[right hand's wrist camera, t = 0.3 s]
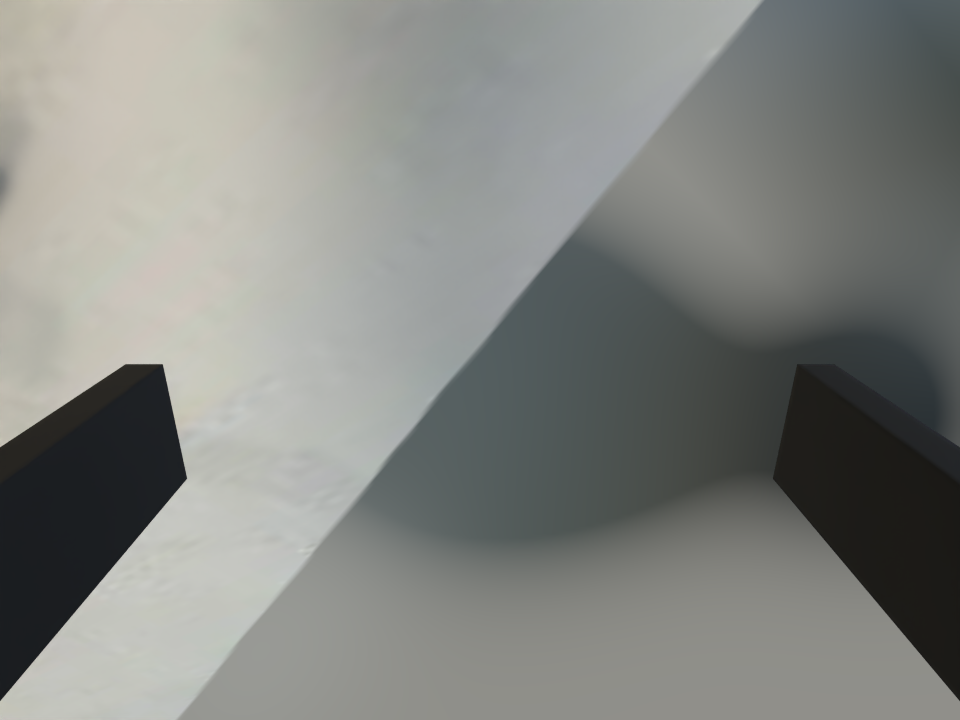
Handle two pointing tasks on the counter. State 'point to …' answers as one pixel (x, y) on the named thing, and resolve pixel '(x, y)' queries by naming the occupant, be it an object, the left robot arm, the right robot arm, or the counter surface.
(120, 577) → the counter surface
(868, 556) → the right robot arm
